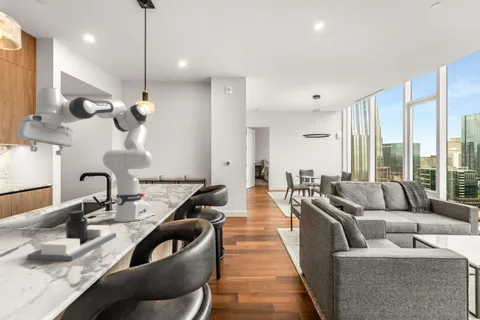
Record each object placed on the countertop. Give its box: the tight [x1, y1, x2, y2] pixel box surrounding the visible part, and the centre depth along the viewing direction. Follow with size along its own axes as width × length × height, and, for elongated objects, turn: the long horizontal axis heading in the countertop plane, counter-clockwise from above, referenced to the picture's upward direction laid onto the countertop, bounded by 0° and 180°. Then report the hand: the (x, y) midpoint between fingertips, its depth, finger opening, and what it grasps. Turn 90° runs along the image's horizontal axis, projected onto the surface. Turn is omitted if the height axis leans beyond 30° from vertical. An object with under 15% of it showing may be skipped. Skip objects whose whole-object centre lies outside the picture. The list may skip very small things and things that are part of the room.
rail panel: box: [27, 224, 117, 262], centre depth 91 cm, size 24×16×5 cm, turn 175°
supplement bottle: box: [65, 210, 88, 244], centre depth 91 cm, size 7×7×12 cm
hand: (46, 153), depth 101 cm, fingers open, 8 cm apart
